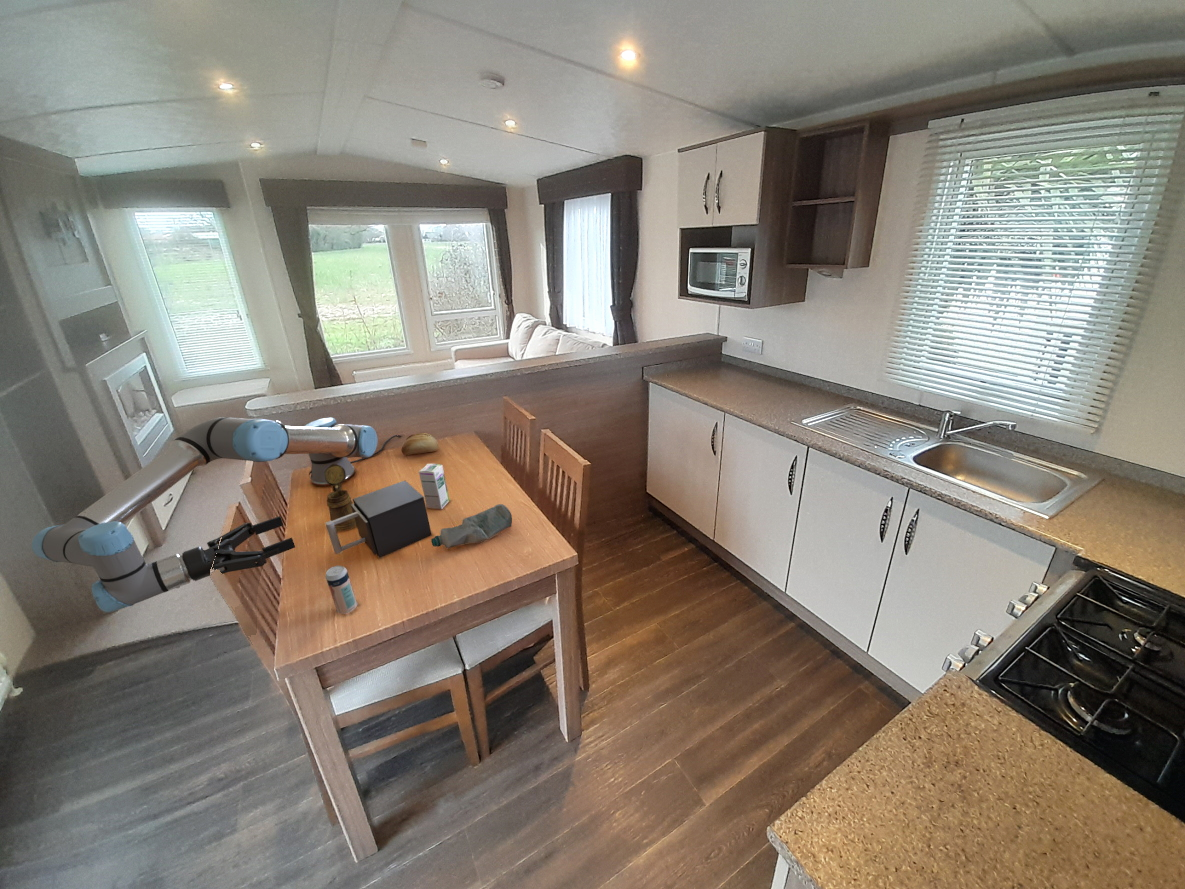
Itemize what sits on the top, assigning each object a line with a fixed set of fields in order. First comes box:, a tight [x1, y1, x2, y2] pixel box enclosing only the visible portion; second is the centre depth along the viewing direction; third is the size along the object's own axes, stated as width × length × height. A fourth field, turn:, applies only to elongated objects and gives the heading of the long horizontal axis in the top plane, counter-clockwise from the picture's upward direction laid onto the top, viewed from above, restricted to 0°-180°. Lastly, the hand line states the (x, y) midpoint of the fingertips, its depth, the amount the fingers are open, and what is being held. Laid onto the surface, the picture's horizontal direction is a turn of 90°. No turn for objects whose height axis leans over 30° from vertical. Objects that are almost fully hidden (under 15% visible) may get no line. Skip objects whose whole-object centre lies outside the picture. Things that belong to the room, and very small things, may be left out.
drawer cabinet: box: [352, 480, 433, 559], centre depth 144 cm, size 16×14×14 cm
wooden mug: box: [325, 463, 357, 532], centre depth 153 cm, size 9×14×18 cm, turn 23°
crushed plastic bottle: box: [430, 503, 513, 550], centre depth 144 cm, size 13×7×25 cm
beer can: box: [324, 565, 358, 615], centre depth 117 cm, size 5×5×12 cm
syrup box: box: [418, 463, 450, 510], centre depth 160 cm, size 6×6×14 cm
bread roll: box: [400, 432, 440, 456], centre depth 200 cm, size 10×15×8 cm, turn 112°
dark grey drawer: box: [325, 503, 377, 556], centre depth 141 cm, size 24×13×12 cm, turn 131°
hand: (287, 531), depth 125 cm, fingers open, 13 cm apart
